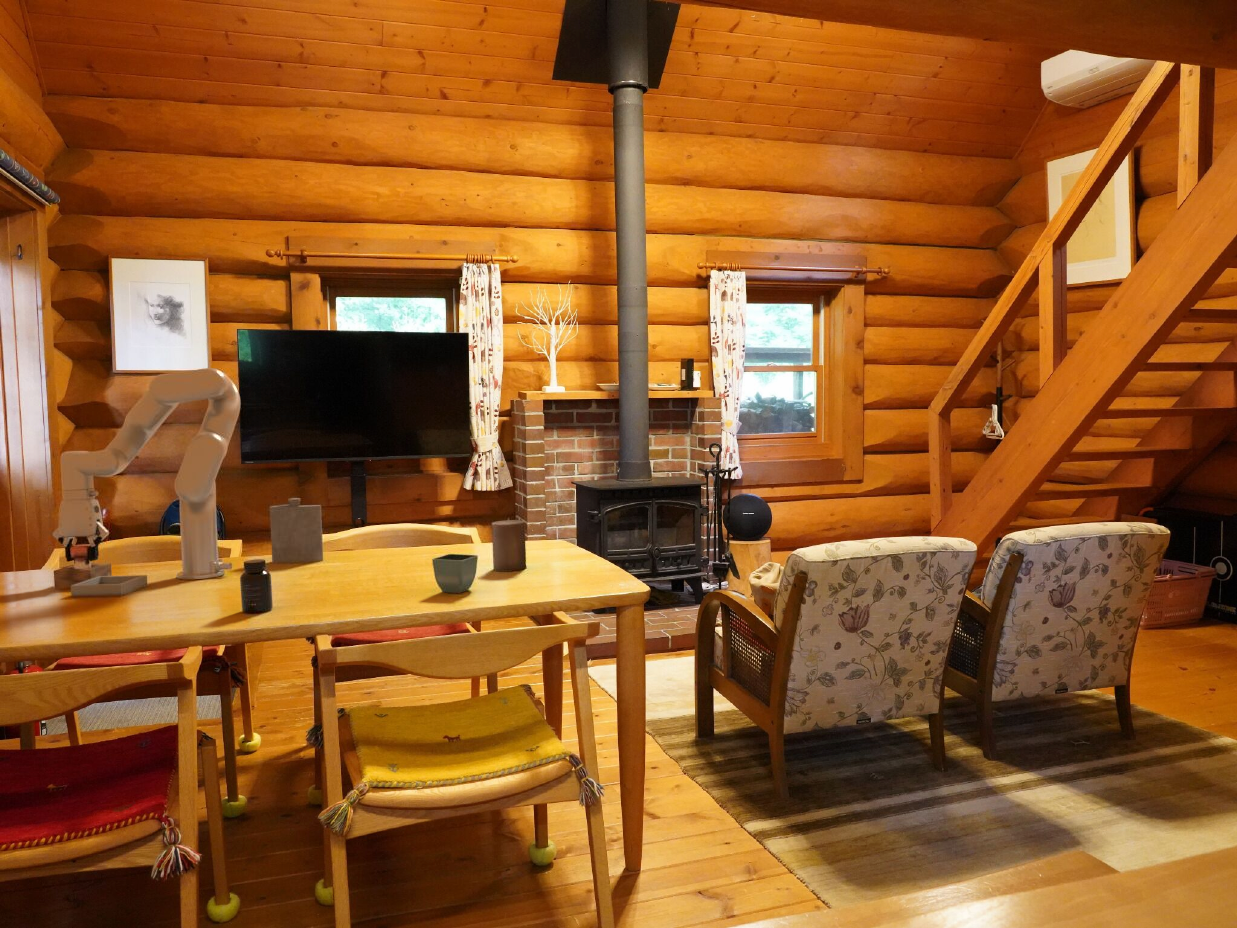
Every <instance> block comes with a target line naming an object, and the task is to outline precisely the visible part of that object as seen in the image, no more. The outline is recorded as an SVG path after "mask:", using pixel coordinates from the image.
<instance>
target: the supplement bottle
mask: <svg viewBox="0 0 1237 928" xmlns="http://www.w3.org/2000/svg"><path fill="white" fill-rule="evenodd" d="M266 563H267V562H266V559H263V558H262V559H261V558H259V559H257V558H256V559H249V560H245V561H243V570H244V572H242V573H241V575H240V576H239V577H240V578H239V581H240V582H239V583H240V585H239V586H240V601H241V611H242V612H243V613H244V614H249V615H253V614H262V613H266V612H270V611H271V610H272V609H273V589H272V587H273V586H272V575H271V573H270V571H268V570H266V568H267V565H266Z"/></svg>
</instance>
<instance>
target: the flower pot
mask: <svg viewBox="0 0 1237 928" xmlns="http://www.w3.org/2000/svg"><path fill="white" fill-rule="evenodd" d="M478 557H479V556H478V555H477V554H459V553H447V554H444V555H442V556H441V555H440V556H438V557H435V558H432V559H431V560H432V562H431V563H432V567H433V574H434V578H435V582H436V585H438V587H439V589H440V590H441V591H442V593H453V594H461V593H463V592H466V591H469V590H470V588H471V587H472V585H473V583H474V581H475V578H476V574H477V567H478Z"/></svg>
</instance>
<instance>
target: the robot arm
mask: <svg viewBox="0 0 1237 928" xmlns="http://www.w3.org/2000/svg"><path fill="white" fill-rule="evenodd" d="M202 400H208V406H207V409H206V412H205V413H204V414H205V415H204V416H203V421H202V422H201V425H200V428H199V431H198V433H197V434H196V435H195V436H194V437H192V439H191V440H190V442H189V444H188V446H187V448H186V451H185V454H184V457H183V458H182V461H181V464H180V467H179V469H178V473H177V475H176V477H175V480H174V490H175V494H176V495H177V496H178V497H179V525H180V527H179V528H180V545H181V546H180V548H181V563H182V564H181V565H182V567H181V568H182V571H180V572H178V573H176V578H177V579H180V580H202V579H203V580H204V579H210V578H212V579H213V578H216V577H221V576H223V575H225V572H226V570H232V568H233V564H232V562H223V558H221V557H220V558H219V550H218V549H219V546H218V525H217V520H218V519H217V490H216V489H217V488H216V487H217V484H216V478H217V475H218V473H219V470H220V469H221V465H222V462H223V461H224V459H225V457H226V455H227V453H228V448H229V445H230V441H231V439H232V435H233V433H234V430H235V428H236V424H237V421H238V418H239V415H240V411H241V396H240V393H239V390H238V388H237V386H236V385H235V383H234V382H233V381H232V380H231V379H230V378H229V376H227V375H226V373H224V372H223V371H221V370H219V369H216V368H212V367H207V368H199V369H198V368H197V369H192V370H191V369H190V370H186V371H178V372H170V373H169V372H168V373H161V374H159V375H158V374H157V375H156V376H155V377H154V378H152V379H151V381H150V382H149V384H148V389H147V390H146V392H144V394H143V395H142V396H141V397H140V398H139V400H138V401H137V402H136V404H134V406H133V407H131V409H130V410H129V412H127V414H126V416H125V419H124V421H123V424H122V427H121V428H120V430H119V431H118V432H117V434H116V435H115V437H114V438H113V439H112V440H111V442H109V444H108V445H107V446H106V447H105V448H104V449H101V450H97V451H95V450H94V451H87V450H72V451H71V450H70V451H64V452H62V453H61V454H60V460H59V462H60V472H61V473H60V475H61V476H60V477H61V489H62V490H61V493H62V500H61V501H60V505H59V510H58V511H59V512H58V526H57V528H56V529H55V530H54V531H53V532H52V536H53V538H55V539H56V540H57V541H58V542H59V543H60V544H61V545H62V548H64V553H65V554H64V555H65V559H66V562H68V563H69V562H72V561H73V562H74V558H70V546H74V540H75V537H76V538H83V537H86V539H87V540H88V543H89V544H90V547H89V548H88V550H89V561H91V562H94V561H98V559H99V555H100V554H99V552H100V551H99V546H100V545H101V543H102V542H104V540H105V539H106V537H107V536H109V534H110V532H109V530H108V529H107V528H106V527H105V526H104V523H103V516H102V510H101V506H100V503H99V500H98V499H95V498H96V497H98V496H99V491H98V490H95V487H94V486H95V485H94V484H95V483H94V477H102V478H104V477H105V478H109V477H113V476H115V475H117V474H120V473H122V472H123V471H124V470H126V469H127V467H128V466H129V465H130V463H131V462H132V461H133V460H134V459H135V457H136V456H137V455H138V454H139V453H140V451H141V450H142V449H143V448H144V446H145V445H146V444H147V442H148V441H149V440H150V439H151V438H152V437H153V436H154V435H155V433H156V432H157V431H158V429H159V428H160V427H161V426H162V425H163V423H164V422H165V421H166V419H168V417H169V416H170V415H171V413H172V412H174V411H175V409H176V408H177V407H178V406H179V404H180V403H188V402H195V401H202Z"/></svg>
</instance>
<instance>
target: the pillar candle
mask: <svg viewBox="0 0 1237 928" xmlns="http://www.w3.org/2000/svg"><path fill="white" fill-rule="evenodd" d="M525 522H526V521H524V520H518V519H517V520H516V519H513V520H512V519H510V518H509V517H507V520H498V521H493V522H491V539H492V540H491V541H492V562H493V564H492V565H493V570H494V571H497V572H515V571H516V572H517V571H522V570H525V569H527V553H526V550H527V549H526V527H525V524H526V523H525Z"/></svg>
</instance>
